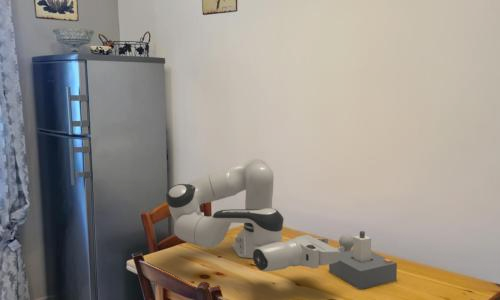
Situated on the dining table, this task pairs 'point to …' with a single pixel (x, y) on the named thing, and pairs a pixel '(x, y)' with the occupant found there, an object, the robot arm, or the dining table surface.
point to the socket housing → (364, 270)
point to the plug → (362, 248)
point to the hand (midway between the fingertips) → (334, 244)
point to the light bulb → (346, 242)
